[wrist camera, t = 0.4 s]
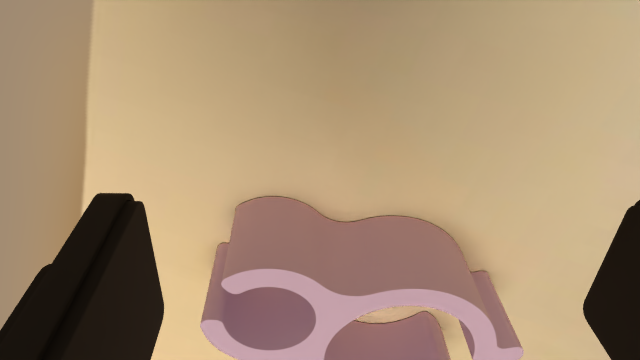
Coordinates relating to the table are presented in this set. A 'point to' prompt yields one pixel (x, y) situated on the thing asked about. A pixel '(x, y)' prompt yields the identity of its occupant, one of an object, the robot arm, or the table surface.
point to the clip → (345, 289)
